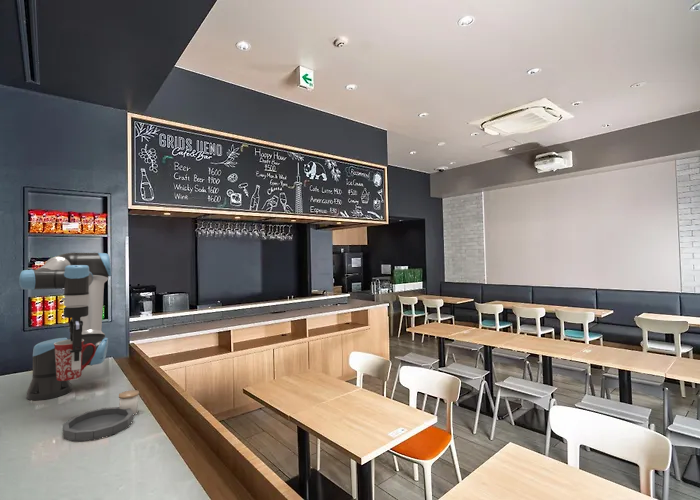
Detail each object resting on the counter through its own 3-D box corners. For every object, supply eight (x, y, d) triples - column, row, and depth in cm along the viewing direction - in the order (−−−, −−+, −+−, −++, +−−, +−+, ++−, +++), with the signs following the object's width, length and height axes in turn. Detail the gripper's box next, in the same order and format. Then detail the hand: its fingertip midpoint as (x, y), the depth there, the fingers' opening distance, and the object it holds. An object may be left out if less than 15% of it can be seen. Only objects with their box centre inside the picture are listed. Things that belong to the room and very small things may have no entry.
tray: (61, 425, 129) (61, 417, 129) (126, 410, 142) (126, 402, 142) (64, 448, 114) (65, 438, 114) (137, 428, 127) (137, 420, 127)
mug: (52, 383, 129) (53, 345, 129) (53, 376, 136) (54, 340, 136) (96, 376, 137) (96, 340, 137) (94, 370, 144) (95, 336, 144)
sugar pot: (116, 413, 139) (117, 392, 139) (136, 408, 143) (136, 388, 144) (120, 419, 134) (120, 397, 134) (140, 414, 138) (140, 393, 139)
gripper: (61, 303, 142) (60, 362, 142) (65, 310, 126) (64, 375, 126) (85, 302, 147) (84, 358, 147) (92, 308, 131) (90, 371, 131)
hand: (75, 366), depth 136 cm, fingers closed on mug, 8 cm apart
